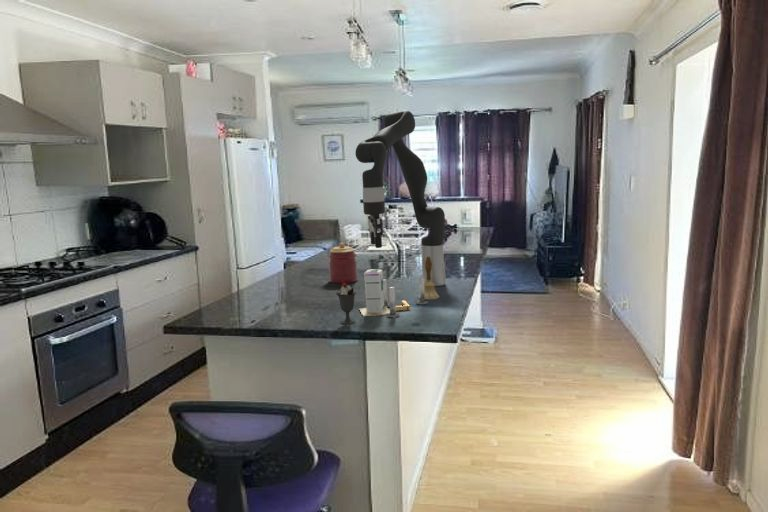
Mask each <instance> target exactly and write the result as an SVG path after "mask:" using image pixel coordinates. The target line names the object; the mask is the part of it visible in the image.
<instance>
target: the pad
mask: <svg viewBox="0 0 768 512" xmlns="http://www.w3.org/2000/svg"><path fill="white" fill-rule="evenodd" d="M359 310H360V311H359ZM358 311H359V312H361V313H360V314H361V316H362V315H363V316H372V317H375V316H374V315H383V316H387V315H386V314H388V313H390V308H387V307H385V309H384V310H383V312H382V313H367V312H366V307H363V308H358ZM363 316H362V317H363Z"/></svg>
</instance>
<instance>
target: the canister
mask: <svg viewBox="0 0 768 512" xmlns="http://www.w3.org/2000/svg"><path fill="white" fill-rule="evenodd" d="M355 251H356V250H355V248H353V247H352V246H347V245H345V242H339V244H338V246H334V247H332V248H331V249H330V250H329V254H328V256H327V257H328V259H329V261H328V273H329V274H328V275H329V276H328V277H329V282H330V283H333V284H344V283H345V284H350V282H351V283H355V282H357V281H358V277H359V276H358V261H357V258H356V257H358V256H357V255H358V254H357V253H356V252H355ZM340 278H342V280H341V279H340ZM343 281H344V283H343Z"/></svg>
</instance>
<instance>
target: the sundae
mask: <svg viewBox="0 0 768 512" xmlns="http://www.w3.org/2000/svg"><path fill="white" fill-rule="evenodd" d="M340 279H341V280H342V278H340ZM335 295H336V296H338V297H337V298H338V299H339V305H340V308H341V310H342V311H343V312H344V313H345V318H344V320H342V321H340V324H341V323H342V324H341V325H344V324H349V325H352V324H351V323H354V322H355V323H356V321H355V320H352V319H351V318H350V313H351V312H352V311H353V309H354V306H355V295H357V292H356V291H354V287H352V286H350V285H349V284H347V283H344V281H343V283H341V285H340V288H339V290H338V292H336V293H335ZM355 323H354V324H355Z"/></svg>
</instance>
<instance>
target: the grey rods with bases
mask: <svg viewBox="0 0 768 512" xmlns="http://www.w3.org/2000/svg"><path fill="white" fill-rule="evenodd" d="M383 286H384V304H385V307H390V308H389V310H390V313H388V314H387V315H386V317H387V316H388V317H397V318H399V317H400V313H397V312H400V311H399V310H403V311H410V310H411V305H409V303H408V302H407V301H406V300H401V305H396V287H395V286H391V287H390V286H389V287H388V279H384V278H383ZM418 294H419V295H418V296H419V298H418V300H417V301H416V302H415V303H416V305H417V304H418V306H425V305H428V304H429V300H425V291H424V277H422V276H419V277H418ZM388 295H389V296H388ZM388 297H389V299H388ZM388 301H389V302H388ZM402 305H403V306H402ZM388 317H387V318H388Z"/></svg>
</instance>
